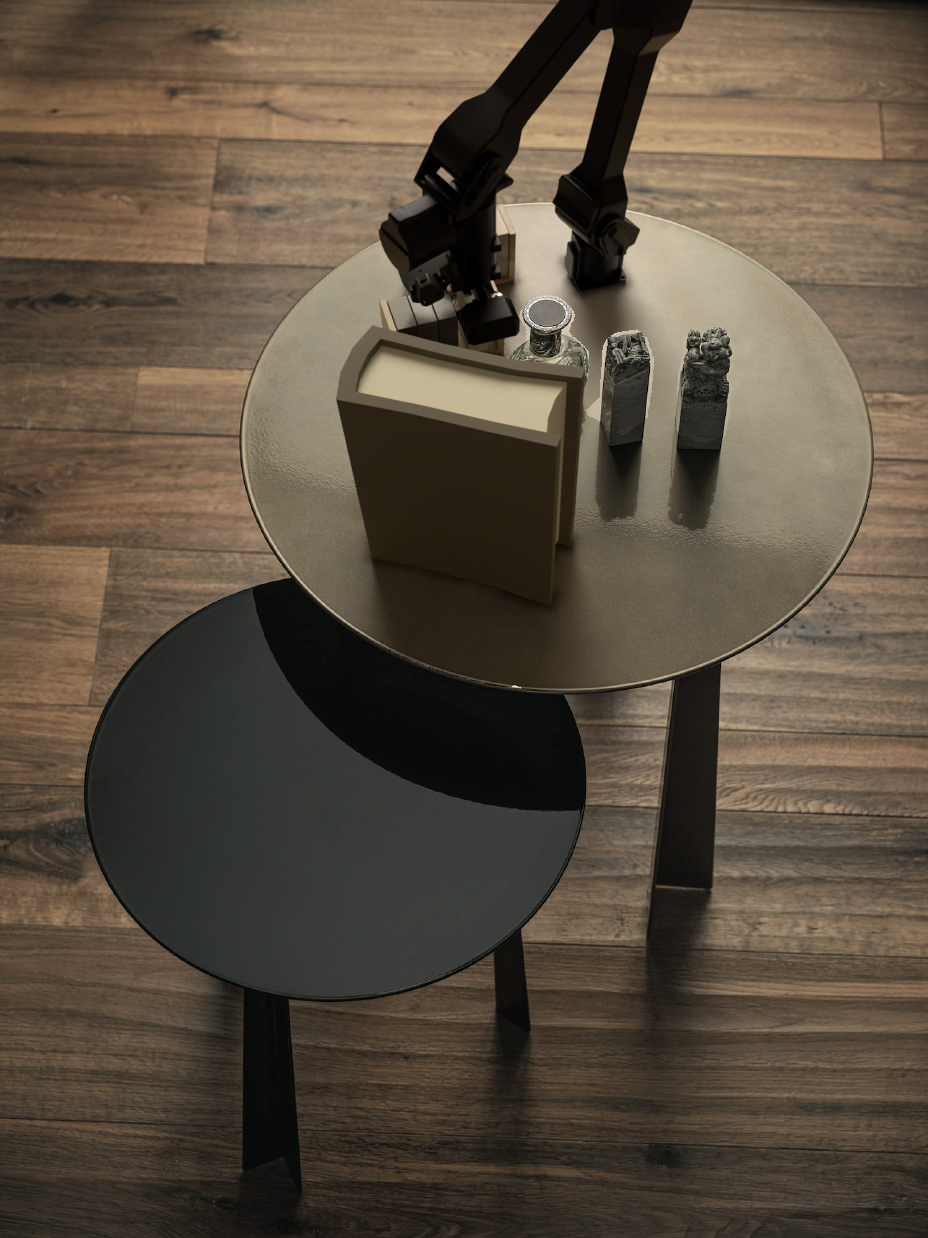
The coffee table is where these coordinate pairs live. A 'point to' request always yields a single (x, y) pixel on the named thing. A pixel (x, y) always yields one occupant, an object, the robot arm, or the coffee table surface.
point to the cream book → (460, 304)
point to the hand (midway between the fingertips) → (472, 327)
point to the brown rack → (503, 247)
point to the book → (463, 458)
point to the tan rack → (429, 321)
